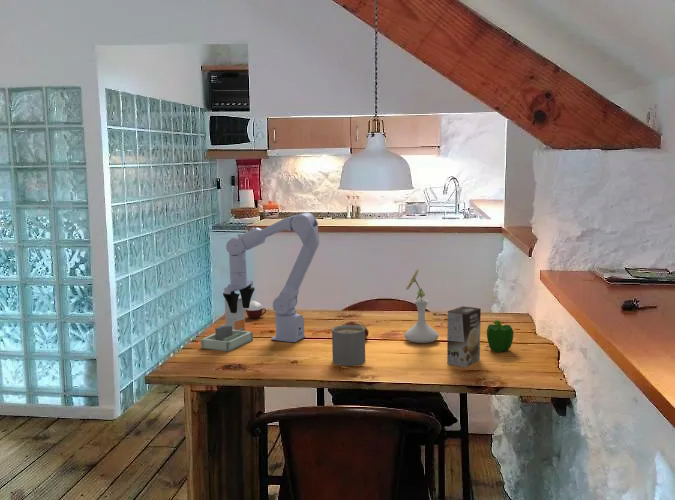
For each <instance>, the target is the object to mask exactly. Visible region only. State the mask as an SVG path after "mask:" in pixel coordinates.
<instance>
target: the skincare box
mask: <svg viewBox="0 0 675 500" xmlns="http://www.w3.org/2000/svg"><path fill="white" fill-rule="evenodd" d="M224 311H225V313H224V314H225V324H226V325H227V326H232V330H240V331H244V330H245V329H246V315H245V313H246V308H243V305H242V298H241V295H239V298H238V302H237V313H231V312H230V309H229V306H228V303H227V301H226V299H225V298H224Z"/></svg>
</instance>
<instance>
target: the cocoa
mask: <svg viewBox="0 0 675 500" xmlns="http://www.w3.org/2000/svg"><path fill="white" fill-rule="evenodd" d="M263 310H264V311H263ZM266 312H267V310H266V308H265V307H264V308H263V305H262V304H261V303H260V302H258V301H257V300H251V301H250V305H249V308H245V313H246V315H247V317H248V318H249V319H251V320H257V319H259V318H261V317H262V316H263V315H265V313H266Z"/></svg>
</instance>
